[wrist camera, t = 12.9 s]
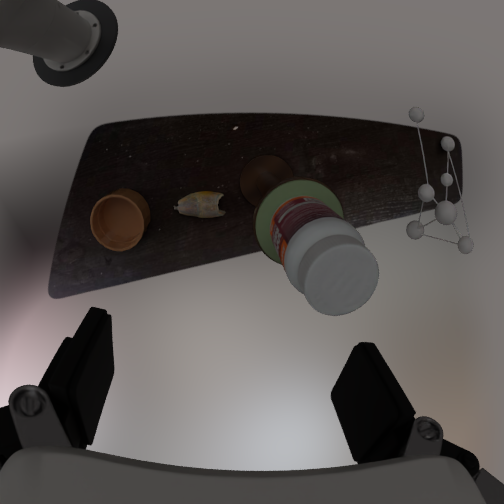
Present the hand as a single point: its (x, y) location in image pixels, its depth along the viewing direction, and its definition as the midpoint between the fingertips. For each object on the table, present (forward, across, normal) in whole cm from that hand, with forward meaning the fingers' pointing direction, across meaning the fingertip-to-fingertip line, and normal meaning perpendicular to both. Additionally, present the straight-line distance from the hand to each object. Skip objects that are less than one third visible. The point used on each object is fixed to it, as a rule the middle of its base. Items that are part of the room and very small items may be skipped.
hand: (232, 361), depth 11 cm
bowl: (+43, +16, +9) cm, 47 cm away
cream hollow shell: (+44, +3, +5) cm, 44 cm away
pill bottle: (+19, -7, 0) cm, 20 cm away
